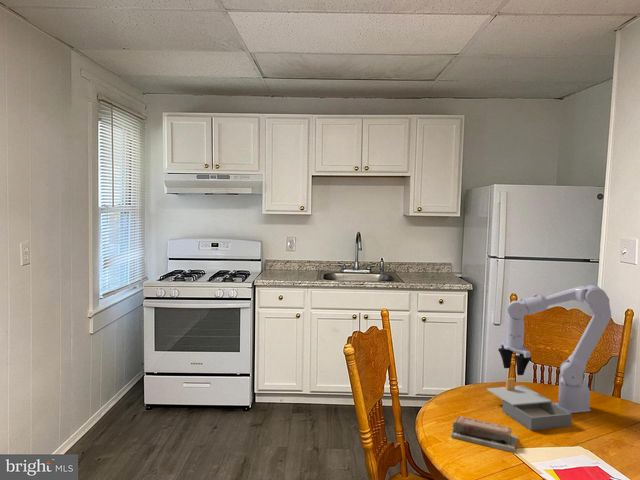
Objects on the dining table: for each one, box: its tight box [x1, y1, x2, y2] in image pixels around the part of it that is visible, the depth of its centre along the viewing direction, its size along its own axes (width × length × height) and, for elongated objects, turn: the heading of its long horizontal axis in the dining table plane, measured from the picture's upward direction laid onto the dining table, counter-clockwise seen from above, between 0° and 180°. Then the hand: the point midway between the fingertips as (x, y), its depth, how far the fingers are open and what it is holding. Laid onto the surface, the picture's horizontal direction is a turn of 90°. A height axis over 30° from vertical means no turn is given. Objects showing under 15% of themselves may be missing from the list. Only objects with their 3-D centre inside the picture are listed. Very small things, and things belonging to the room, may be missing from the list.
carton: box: [501, 399, 573, 432], centre depth 155 cm, size 15×14×4 cm
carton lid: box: [486, 377, 553, 406], centre depth 164 cm, size 15×14×4 cm
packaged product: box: [450, 415, 519, 453], centre depth 141 cm, size 18×5×10 cm
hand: (513, 371), depth 171 cm, fingers open, 7 cm apart
